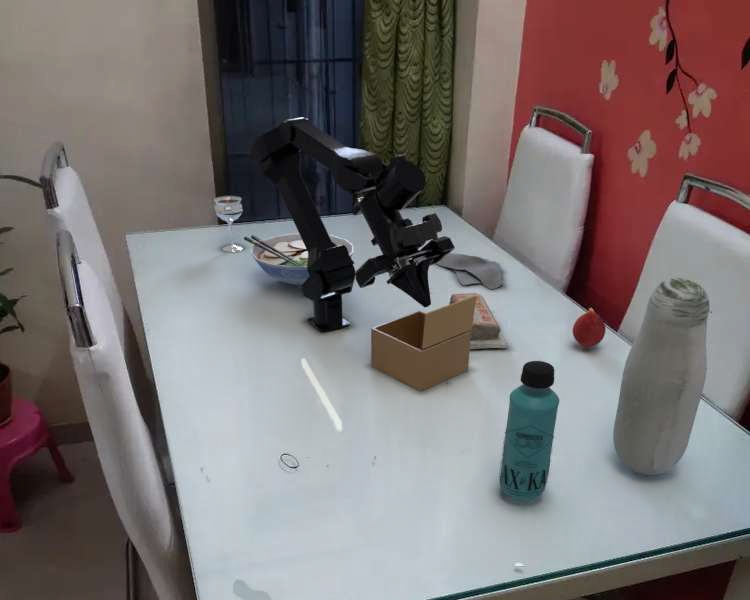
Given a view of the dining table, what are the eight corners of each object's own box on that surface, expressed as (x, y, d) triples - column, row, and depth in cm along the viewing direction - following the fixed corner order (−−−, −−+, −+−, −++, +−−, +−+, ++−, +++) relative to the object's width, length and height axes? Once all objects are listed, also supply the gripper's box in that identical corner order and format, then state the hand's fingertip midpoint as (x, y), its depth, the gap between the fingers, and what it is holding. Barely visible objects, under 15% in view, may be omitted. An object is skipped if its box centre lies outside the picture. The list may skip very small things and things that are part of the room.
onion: (604, 345, 148) (611, 305, 144) (598, 357, 144) (605, 317, 140) (574, 339, 150) (580, 300, 146) (567, 351, 146) (572, 311, 142)
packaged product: (440, 291, 158) (489, 289, 159) (439, 313, 161) (487, 312, 162) (456, 327, 143) (510, 325, 144) (455, 352, 146) (507, 349, 147)
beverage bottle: (492, 483, 110) (505, 355, 100) (539, 481, 111) (557, 353, 100) (503, 511, 105) (518, 378, 94) (551, 508, 106) (572, 376, 95)
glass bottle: (694, 479, 111) (744, 292, 96) (630, 491, 109) (672, 301, 94) (654, 443, 119) (695, 265, 104) (594, 453, 117) (627, 273, 102)
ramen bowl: (377, 287, 173) (377, 250, 169) (286, 310, 162) (284, 272, 158) (319, 255, 191) (318, 222, 186) (233, 274, 180) (230, 239, 175)
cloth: (524, 285, 174) (525, 275, 173) (468, 292, 171) (469, 282, 169) (473, 248, 195) (474, 239, 194) (422, 255, 191) (423, 245, 190)
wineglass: (219, 244, 198) (214, 196, 191) (246, 243, 198) (242, 195, 192) (218, 253, 192) (212, 203, 185) (245, 252, 193) (241, 203, 186)
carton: (468, 370, 140) (471, 332, 136) (420, 391, 133) (422, 352, 129) (418, 347, 148) (419, 310, 144) (371, 366, 141) (371, 328, 137)
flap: (470, 328, 135) (471, 329, 135) (421, 347, 129) (423, 348, 129) (474, 295, 132) (476, 295, 131) (425, 313, 125) (427, 314, 125)
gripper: (368, 210, 121) (413, 299, 121) (451, 188, 131) (493, 271, 131) (336, 244, 130) (378, 328, 130) (416, 222, 141) (455, 299, 140)
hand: (428, 306), depth 133 cm, fingers closed
